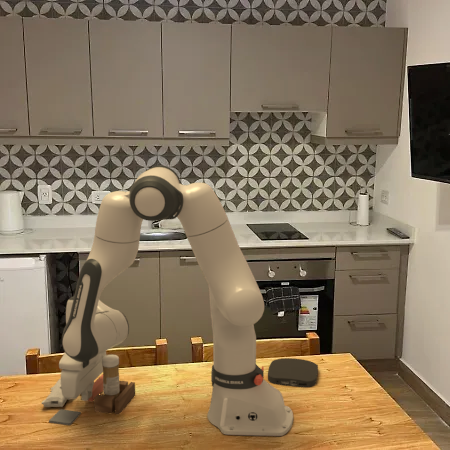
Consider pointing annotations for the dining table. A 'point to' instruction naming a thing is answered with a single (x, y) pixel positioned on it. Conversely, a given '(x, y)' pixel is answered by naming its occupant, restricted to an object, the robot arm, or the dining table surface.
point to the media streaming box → (293, 372)
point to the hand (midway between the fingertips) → (87, 398)
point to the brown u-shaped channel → (110, 403)
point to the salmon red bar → (97, 388)
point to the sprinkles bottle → (111, 375)
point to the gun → (55, 397)
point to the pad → (65, 417)
